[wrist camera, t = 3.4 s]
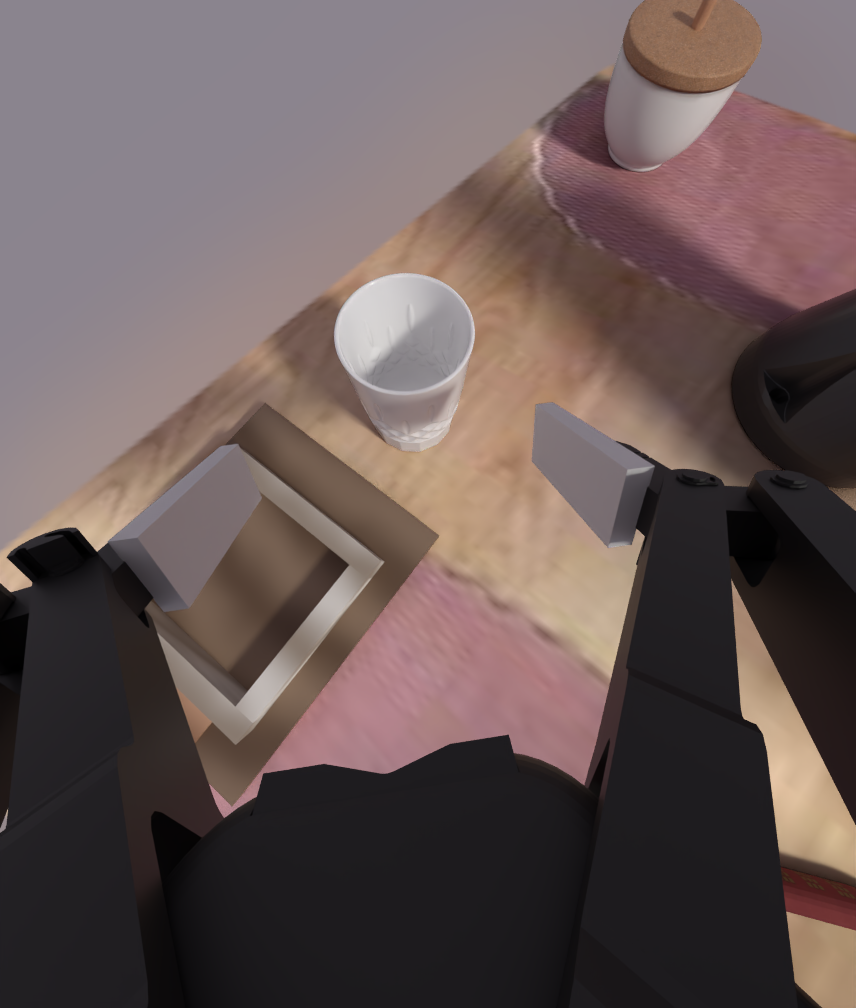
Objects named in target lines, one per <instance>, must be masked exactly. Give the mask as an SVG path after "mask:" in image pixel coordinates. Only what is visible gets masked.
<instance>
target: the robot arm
mask: <svg viewBox="0 0 856 1008" xmlns="http://www.w3.org/2000/svg"><path fill="white" fill-rule="evenodd" d="M732 393H733V401H734V405H735V409H736V412H737V415H738V417H739V419H740V422H741V424H742V425H743V427H744V429H745V431H746V432H747V434H748V435H749V437H750V438H751V440H752V441H753V442H754V443H755V444H756V446H757V447H758V448H759V449H760V450H761V451H762V452H763V453H764V454H765V455H766V456H767V457H768V458H770V459H771V460H772V461H773V462H775V463H776V464H777V465H779V466H780V467H782V468H783V469H785V471H780V470H765V471H760V472H757V473H756V474H755V475H754V477H753V479H752V481H751V483H750V485H749V487H738V486H724V484H723V482H722V480H721V479H719V478H718V477H716V476H714V475H712V474H709V473H706V472H703V471H698V470H692V469H675V470H670V469H669V468H667V467H665V466H664V465H662V464H660V463H659V462H657V461H655V460H654V459H652V458H649V456H647V455H646V454H644V453H641V451H639V450H637V449H636V448H634V447H632V446H630V445H627V444H624V443H621V442H618V441H614V440H612V439H611V438H609V437H608V436H606V435H604V434H603V433H601V432H600V431H598V430H596V429H595V428H593V427H592V426H590V425H588V424H587V423H585V422H584V421H582V420H580V419H579V418H577V417H576V416H574V415H572V414H571V413H569V412H568V411H566V410H564V409H563V408H561V407H560V406H558V405H556V404H555V403H553V402H551V403H543V404H536V409H535V423H534V436H533V450H532V462H533V463H534V464H535V465H536V467H537V468H538V469H539V470H540V471H541V472H542V473H543V475H544V476H545V477H546V478H547V479H548V480H549V481H550V482H551V484H552V485H553V486H554V487H555V488H556V489H557V490H558V492H559V493H560V494H561V495H562V496H563V497H564V498H565V500H566V501H567V502H568V503H569V504H570V505H571V506H572V508H573V509H574V510H575V511H576V512H577V513H578V514H579V515H580V517H581V518H582V519H583V520H584V521H585V522H586V523H587V525H588V526H589V527H590V528H591V529H592V530H593V531H594V533H595V534H596V535H597V536H598V537H599V538H600V539H601V540H602V542H603V543H604V544H605V545H606V546H607V547H608V548H611V547H618V546H625V545H632V542H633V538H634V535H635V531H636V528H637V529H638V530H639V531H640V532H641V533H642V534H643V535H644V536H645V538H644V541H643V544H642V547H641V551H640V554H639V557H638V560H637V563H636V565H637V570H636V574H635V578H634V582H633V587H632V591H631V595H630V600H629V604H628V608H627V613H626V617H625V621H624V626H623V630H622V634H621V639H620V643H619V647H618V651H617V656H616V660H615V664H614V669H613V673H612V677H611V682H610V686H609V690H608V695H607V699H606V703H605V707H604V712H603V716H602V720H601V725H600V729H599V733H598V738H597V742H596V746H595V750H594V753H593V757H592V760H591V763H590V767H589V770H588V774H587V778H586V782H585V786H584V785H583V784H581V783H580V782H579V781H577V780H576V779H575V778H573V777H572V776H570V775H569V774H567V773H565V772H564V771H562V770H560V769H559V768H557V767H555V766H553V765H551V764H548V763H546V762H544V761H542V760H539V759H536V758H533V757H529V756H526V755H522V754H516V753H513V749H512V745H511V742H510V738H509V735H504V736H498V737H492V738H485V739H479V740H473V741H466V742H460V743H454V744H449V745H447V746H445V747H443V748H441V749H439V750H437V751H435V752H432V753H430V754H428V755H426V756H424V757H422V758H420V759H418V760H416V761H414V762H412V763H410V764H408V765H406V766H404V767H402V768H400V769H398V770H396V771H394V772H391V773H388V774H379V773H374V772H368V771H362V770H356V769H350V768H344V767H339V766H333V765H327V764H321V765H315V766H309V767H302V768H296V769H290V770H283V771H277V772H271V773H264V774H263V776H262V780H261V784H260V788H259V791H258V795H257V797H256V798H254V799H252V800H250V801H249V802H247V803H245V804H244V805H242V806H241V807H239V808H237V809H236V810H235V811H233V812H232V813H231V814H229V815H228V816H227V817H225V818H224V817H223V816H222V814H221V813H220V811H219V809H218V807H217V805H216V803H215V800H214V798H213V795H212V792H211V789H210V786H209V783H208V780H207V777H206V774H205V771H204V768H203V765H202V762H201V759H200V757H199V754H198V751H197V748H196V745H195V742H194V739H193V736H192V733H191V730H190V727H189V724H188V721H187V718H186V716H185V713H184V710H183V707H182V704H181V701H180V698H179V695H178V692H177V689H176V686H175V683H174V680H173V677H172V674H171V672H170V669H169V666H168V663H167V660H166V657H165V654H164V651H163V648H162V645H161V642H160V639H159V636H158V633H157V631H156V628H155V625H154V622H153V619H152V617H151V615H150V614H149V613H148V612H147V611H146V610H145V608H146V606H147V605H148V604H149V603H150V601H151V600H152V599H154V600H155V602H156V603H157V604H158V605H159V607H160V608H161V609H162V610H163V612H168V611H175V610H182V609H189V608H190V607H191V605H192V603H193V602H194V600H195V599H196V597H197V596H198V594H199V593H200V591H201V590H202V588H203V587H204V585H205V584H206V582H207V581H208V579H209V578H210V576H211V575H212V573H213V572H214V570H215V569H216V567H217V566H218V564H219V562H220V561H221V559H222V558H223V556H224V555H225V553H226V552H227V550H228V549H229V547H230V546H231V544H232V543H233V541H234V540H235V538H236V537H237V535H238V534H239V532H240V531H241V529H242V528H243V526H244V525H245V523H246V521H247V520H248V518H249V517H250V515H251V514H252V512H253V511H254V509H255V508H256V506H257V505H258V503H259V502H260V500H261V499H262V497H261V495H260V492H259V490H258V488H257V485H256V483H255V481H254V479H253V476H252V474H251V472H250V469H249V467H248V465H247V463H246V460H245V458H244V456H243V454H242V451H241V449H240V447H239V444H233V445H225V446H220V447H219V448H218V449H216V450H215V451H214V452H213V453H212V454H211V455H209V456H208V457H207V458H206V459H205V460H203V461H202V462H201V463H200V464H199V465H198V466H196V467H195V468H194V469H193V470H192V471H190V472H189V473H188V474H187V475H186V476H185V477H183V478H182V479H181V480H180V481H179V482H177V483H176V484H175V485H174V486H173V487H172V488H170V489H169V490H168V491H167V492H166V493H164V494H163V495H162V496H161V497H160V498H159V499H157V500H156V501H155V502H154V503H153V504H151V505H150V506H149V507H148V508H147V509H146V510H144V511H143V512H142V513H141V514H140V515H138V516H137V517H136V518H135V519H134V520H133V521H131V522H130V523H129V524H128V525H127V526H125V527H124V528H123V529H122V530H121V531H120V532H118V533H117V534H116V535H115V536H114V537H112V538H111V539H110V540H109V541H108V543H107V544H106V545H105V546H104V547H102V548H101V549H100V550H99V551H98V552H96V550H95V549H94V548H93V547H92V546H91V544H90V543H89V542H88V541H87V540H86V539H85V537H84V536H83V535H82V534H81V533H80V531H79V530H78V529H77V528H64V529H58V530H55V531H52V532H48V533H45V534H43V535H40V536H38V537H36V538H33V539H31V540H29V541H27V542H25V543H23V544H22V545H20V546H18V547H17V548H16V549H14V550H13V551H11V552H10V554H9V555H8V556H7V558H8V559H9V560H10V561H11V562H12V563H13V564H14V565H15V566H16V567H17V568H18V569H19V570H20V571H21V572H22V573H23V574H24V575H26V576H27V577H28V578H29V579H30V580H31V581H32V586H31V587H28V588H24V589H21V590H18V591H14V592H10V591H8V590H7V589H6V588H5V587H4V586H3V585H2V584H1V583H0V827H1V825H2V822H3V820H4V817H5V815H6V812H7V809H8V816H7V825H6V829H5V830H4V831H2V832H1V833H0V1008H822V1007H821V1006H819V1005H818V1004H817V1003H816V1002H815V1001H814V1000H813V999H812V998H811V997H810V996H809V995H808V994H807V993H806V992H805V991H804V990H802V989H801V988H800V987H799V986H798V985H797V984H796V983H795V981H794V972H793V964H792V956H791V948H790V939H789V931H788V923H787V915H786V906H785V898H784V890H783V881H782V873H781V865H780V857H779V848H778V840H777V832H776V824H775V815H774V807H773V799H772V791H771V782H770V774H769V766H768V757H767V750H766V746H765V742H764V737H763V734H762V732H761V731H760V729H759V728H758V726H757V725H756V724H754V723H751V722H749V721H747V720H745V719H744V718H743V717H742V712H741V706H740V693H739V679H738V666H737V652H736V639H735V625H734V612H733V598H732V585H731V579H732V581H733V583H734V585H735V587H736V589H737V591H738V593H739V595H740V597H741V599H742V601H743V603H744V605H745V607H746V609H747V611H748V613H749V615H750V617H751V619H752V621H753V623H754V625H755V627H756V629H757V631H758V633H759V635H760V637H761V639H762V641H763V643H764V644H765V646H766V648H767V650H768V652H769V654H770V656H771V658H772V660H773V662H774V664H775V666H776V668H777V670H778V672H779V674H780V676H781V678H782V680H783V682H784V684H785V686H786V688H787V690H788V692H789V694H790V696H791V698H792V700H793V702H794V704H795V706H796V708H797V710H798V712H799V714H800V716H801V718H802V720H803V722H804V724H805V726H806V728H807V730H808V732H809V734H810V736H811V738H812V740H813V741H814V743H815V745H816V747H817V749H818V751H819V753H820V755H821V757H822V759H823V761H824V763H825V765H826V767H827V769H828V771H829V773H830V775H831V777H832V779H833V781H834V783H835V785H836V787H837V789H838V791H839V793H840V795H841V797H842V799H843V801H844V803H845V805H846V807H847V809H848V811H849V813H850V815H851V817H852V819H853V821H854V823H855V825H856V511H855V510H854V509H852V508H851V507H850V506H849V505H848V504H846V503H845V502H844V501H843V500H842V499H840V498H839V497H838V496H837V495H836V494H835V493H833V492H832V491H831V490H830V489H829V488H827V487H826V486H828V487H835V488H856V289H854V290H852V291H849V292H847V293H844V294H842V295H840V296H837V297H835V298H832V299H830V300H828V301H825V302H823V303H820V304H818V305H815V306H813V307H811V308H808V309H806V310H803V311H801V312H799V313H796V314H794V315H792V316H790V317H788V318H787V319H785V320H783V321H781V322H780V323H778V324H777V325H775V326H774V327H773V328H771V329H770V330H768V331H767V332H766V333H764V334H763V335H761V336H760V337H759V338H757V339H756V340H755V341H753V342H752V343H751V344H750V345H749V346H748V347H747V348H746V349H745V350H744V352H743V353H742V355H741V356H740V358H739V360H738V362H737V364H736V367H735V370H734V374H733V381H732Z"/></svg>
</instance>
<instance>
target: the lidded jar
mask: <svg viewBox="0 0 856 1008" xmlns="http://www.w3.org/2000/svg"><path fill="white" fill-rule="evenodd" d="M761 42H762V36H761V31H760V28H759V25H758V23H757V22H756V20H755V19H754V17H753V16H752V15H751V14H750V12H748V11H747V10H746V9H745V8H744V7H742V6H741V5H740V4H738V3H737V2H735V1H733V0H645V1H643V2H642V3H641V4H640V5H639V6H638V7H637V8H636V9H635V11H634V12H633V14H632V15H631V18H630V20H629V22H628V25H627V28H626V31H625V34H624V38H623V43H622V46H621V49H620V51H619V54H618V58H617V60H616V63H615V66H614V69H613V73H612V77H611V80H610V84H609V88H608V92H607V97H606V102H605V111H604V129H605V134H606V139H607V141H608V152H609V155H610V157H611V158H612V160H613V161H614V162H615V163H616V164H618V165H619V166H621V167H622V168H624V169H627V170H630V171H634V172H647V171H652V170H654V169H657V168H658V167H660V166H661V165H662V164H663V163H664V162H666V161H668V160H670V159H672V158H674V157H675V156H677V155H679V154H680V153H682V152H683V151H684V150H685V149H687V148H688V147H689V146H690V145H691V144H692V143H693V142H694V141H695V140H696V139H697V138H698V137H699V136H700V135H701V134H702V133H703V132H704V131H705V130H706V128H707V127H708V126H709V125H710V124H711V122H712V121H713V120H714V118H715V117H716V116H717V114H718V113H719V112H720V110H721V109H722V107H723V106H724V105H725V103H726V102H727V100H728V99H729V97H730V96H731V94H732V93H733V91H734V90H735V88H736V86H737V85H738V83H739V81H740V80H741V78H742V77H743V76H744V75H745V74H746V72H747V71H748V70H749V68H750V67H751V65H752V64H753V62H754V61H755V59H756V57H757V55H758V53H759V51H760V48H761Z"/></svg>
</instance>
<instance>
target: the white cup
mask: <svg viewBox="0 0 856 1008" xmlns="http://www.w3.org/2000/svg"><path fill="white" fill-rule="evenodd" d="M474 338H475V328H474V322H473V318H472V315H471V312H470V310H469V308H468V306H467V304H466V303H465V301H464V300H463V299H462V298H461V296H460V295H459V294H458V293H457V292H456V291H455V290H453V289H452V288H451V287H450V286H448V285H447V284H445V283H443V282H441V281H439V280H437V279H435V278H432V277H429V276H425V275H421V274H414V273H397V274H391V275H386V276H383V277H379V278H377V279H374V280H372V281H370V282H368V283H366V284H365V285H363V286H362V287H360V288H359V289H357V290H356V291H355V292H354V293H353V294H352V295H351V296H350V297H349V298H348V299H347V301H346V302H345V303H344V305H343V306H342V308H341V310H340V312H339V314H338V316H337V319H336V323H335V328H334V343H335V348H336V352H337V355H338V357H339V359H340V361H341V363H342V365H343V367H344V369H345V371H346V373H347V375H348V377H349V379H350V381H351V383H352V385H353V387H354V389H355V391H356V393H357V395H358V397H359V400H360V401H361V403H362V405H363V407H364V409H365V411H366V412H367V414H368V416H369V418H370V420H371V421H372V423H373V424H374V426H375V428H376V430H377V431H378V432H379V434H380V435H381V436H382V438H383V439H384V440H385V442H386V443H387V444H389V445H391V446H393V447H395V448H397V449H399V450H401V451H414V452H421V451H423V450H426V449H428V448H431V447H433V446H436V445H437V444H438V443H439V442H440V441H441V440H442V439H443V438H444V437H445V436H446V435H447V433H448V432H449V429H450V426H451V422H452V419H453V415H454V414H455V412H456V409H457V406H458V403H459V399H460V395H461V392H462V389H463V385H464V380H465V376H466V372H467V368H468V365H469V360H470V356H471V352H472V349H473V345H474Z"/></svg>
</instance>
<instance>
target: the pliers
mask: <svg viewBox="0 0 856 1008" xmlns="http://www.w3.org/2000/svg"><path fill="white" fill-rule="evenodd" d="M781 873H782V881H783V890H784V898H785V906H786V911H787V912H791V913H794V914H798V915H802V916H805V917H809V918H813V919H816V920H820V921H823V922H827V923H831V924H834V925H838V926H842V927H845V928H849V929H852V930H856V888H855V887H852V886H849V885H846V884H842V883H839V882H835V881H831V880H828V879H824V878H820V877H816V876H813V875H809V874H805V873H802V872H798V871H794V870H790V869H787V868H783V867H781Z"/></svg>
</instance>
